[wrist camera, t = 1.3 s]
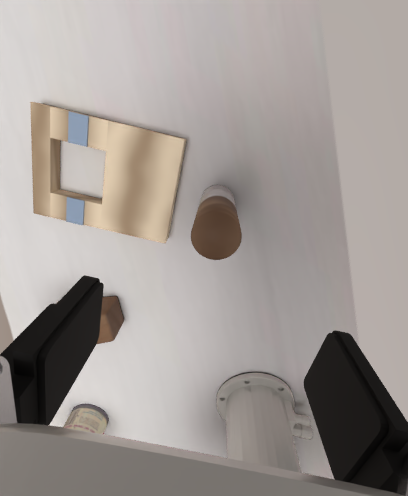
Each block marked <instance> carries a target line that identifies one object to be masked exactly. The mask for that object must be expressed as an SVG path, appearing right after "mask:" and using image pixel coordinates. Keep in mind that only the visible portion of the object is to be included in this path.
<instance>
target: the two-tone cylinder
mask: <svg viewBox="0 0 408 496" xmlns="http://www.w3.org/2000/svg"><path fill="white" fill-rule="evenodd" d="M241 237H242V235H241V229H240V224H239V219H238V215H237V210H236V205H235V201H234V196H233V194H232V192H231V191H230V190H229V189H228V188H227V187H225V186H222V185H213V186H210V187H209V188H207V189H206V190H205V191H204V193H203V194H202V197H201V201H200V204H199V207H198V211H197V214H196V218H195V221H194V224H193V228H192V231H191V241H192V244H193V246H194V248H195V249H196V251H197V252H198V253H199V254H201V255H202V256H204V257H206V258H208V259H213V260H220V259H224V258H227V257H229V256H231V255H232V254H233V253H234V252H235V251H236V250H237V249H238V247H239V246H240V243H241Z"/></svg>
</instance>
